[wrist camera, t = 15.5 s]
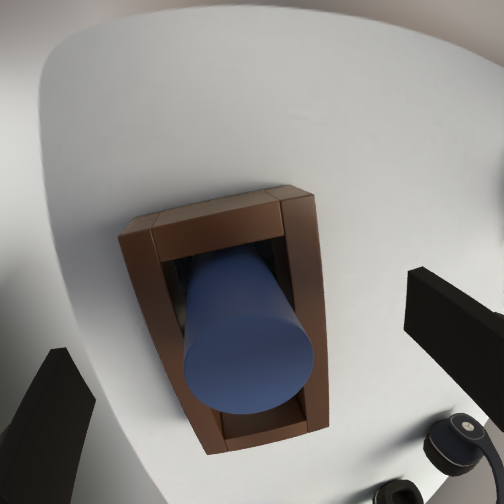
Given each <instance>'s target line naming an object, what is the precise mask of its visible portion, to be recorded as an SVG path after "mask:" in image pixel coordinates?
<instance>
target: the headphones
mask: <svg viewBox="0 0 504 504" xmlns="http://www.w3.org/2000/svg"><path fill="white" fill-rule="evenodd" d="M423 450H424V452H425V454H426V456H427V458H428V459H429V460H430V462H431V463H432V464H433V465H434V466H435V467H436V468H437V469H438V470H439V471H441V472H442V473H443V474H445V475H449V476H452V477H453V476H460V475H462V474H465V473H467V472H469V471H470V470H472V469H473V468H474V467H475V466H476V465H477V463H478V462H479V461H480V459H481V458H482V457H483V456H484V455H485V457H486V458H487V460H488V462H489V464H490V466H491V468H492V472H493V475H494V479H495V484H496V492H497V501H496V504H504V467H503V464H502V461H501V458H500V457H499V454H498V453H497V451H496V449H495V447H494V445H493V443H492V442H491V439H490V438H489V436H488V434H487V432H486V430H485V429H484V427H483V426H482V425H481V424H480V423H479V422H478V421H476V420H475V419H474V418H472V417H471V416H469V415H467V414H464V413H457V414H453V415H451V416H450V417H449V418H448V419H447V420H442V421H439V422H437V423H435V424H434V425H433V426H432V427H431V429H430V432H429V433H428V434H427V436H426V438H425V440H424V445H423ZM372 502H373V504H424V502H423V498H422V496H421V493H420V492H419V490H418V488H417V487H416V485H415V484H414V483H413V482H411V481H409V480H396V481H393V482H391V483H389V484H387V485H385V486H384V487H382V488H381V489H380V490H378V491H377V492H376V493H375V494H374V497H373V499H372Z"/></svg>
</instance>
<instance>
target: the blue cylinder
mask: <svg viewBox="0 0 504 504" xmlns="http://www.w3.org/2000/svg"><path fill="white" fill-rule="evenodd" d="M313 364H314V350H313V346H312V343H311V341H310V339H309V337H308V335H307V334H306V332H305V330H304V328H303V327H302V325H301V323H300V321H299V320H298V318H297V316H296V314H295V313H294V311H293V309H292V307H291V306H290V304H289V302H288V300H287V299H286V297H285V295H284V294H283V292H282V290H281V288H280V287H279V285H278V283H277V281H276V280H275V278H274V276H273V274H272V273H271V271H270V269H269V267H268V266H267V264H266V262H265V261H264V259H263V257H262V255H261V254H260V252H259V251H258V250H257V249H256V248H255V247H254V246H253V245H251V244H250V243H247V244H242V245H238V246H233V247H228V248H224V249H219V250H215V251H210V252H205V253H201V254H196V255H194V257H193V258H192V260H191V263H190V266H189V271H188V284H187V299H186V315H185V335H184V360H183V372H184V378H185V381H186V384H187V386H188V388H189V389H190V391H191V392H192V394H193V395H194V396H195V397H196V398H197V399H198V400H199V401H201V402H202V403H203V404H205V405H207V406H208V407H211V408H213V409H215V410H218V411H221V412H226V413H231V414H252V413H258V412H262V411H266V410H269V409H272V408H275V407H277V406H279V405H281V404H283V403H284V402H286V401H288V400H289V399H290V398H292V397H293V396H294V395H295V394H296V393H298V392H299V391H300V389H301V388H302V387H303V386H304V385H305V383H306V382H307V380H308V378H309V376H310V374H311V372H312V369H313Z"/></svg>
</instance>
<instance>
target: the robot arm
mask: <svg viewBox="0 0 504 504" xmlns="http://www.w3.org/2000/svg"><path fill="white" fill-rule="evenodd" d="M404 331H405V332H406V333H407V334H408V335H409V336H410V337H412V338H413V339H414V340H415V341H416V342H417V343H418V344H419V345H420V346H421V347H422V348H423V349H424V350H425V351H426V352H427V353H428V354H429V355H430V356H431V357H432V358H433V359H434V360H435V361H436V362H437V363H438V364H439V365H440V366H441V367H442V368H443V369H444V370H445V371H446V372H447V374H448V375H449V376H450V377H451V378H452V379H453V380H454V381H455V382H456V383H457V384H458V385H459V386H460V387H461V388H462V389H463V390H464V391H465V392H466V393H467V394H468V395H469V396H470V397H471V399H472V400H473V401H474V402H475V403H476V404H477V405H478V406H479V407H480V408H481V409H482V410H483V411H484V412H485V414H486V415H487V416H488V417H489V418H490V419H491V420H492V421H493V422H494V423H495V425H496V426H497V427H498V428H499V429H500V430H501V431H502V432H504V315H503V314H500V313H497V312H492V311H491V310H489V309H488V308H486V307H485V306H483V305H482V304H481V303H479V302H478V301H476V300H475V299H473V298H472V297H470V296H469V295H467V294H465V293H464V292H462V291H461V290H459V289H458V288H456V287H455V286H453V285H452V284H450V283H448V282H447V281H445V280H444V279H442V278H441V277H439V276H437V275H436V274H434V273H433V272H431V271H429V270H428V269H426V268H424V267H423V266H422V267H419V268H416V269H413V270H410V271H408V278H407V296H406V309H405V320H404ZM95 402H96V399H95V397H94V396H93V394H92V393H91V391H90V389H89V388H88V386H87V384H86V383H85V381H84V379H83V378H82V376H81V374H80V372H79V371H78V369H77V367H76V365H75V364H74V362H73V360H72V358H71V356H70V354H69V352H68V350H67V349H66V347H65V348H57V349H51V350H50V351H49V353H48V355H47V356H46V359H45V360H44V362H43V364H42V365H41V367H40V369H39V370H38V372H37V374H36V376H35V377H34V379H33V381H32V383H31V385H30V387H29V389H28V390H27V392H26V394H25V396H24V398H23V400H22V402H21V404H20V406H19V408H18V410H17V412H16V414H15V416H14V418H13V420H12V422H11V424H10V425H8V427H7V428H6V429H5V430H4V431H3V432H2V434H1V435H0V504H70V502H71V496H72V492H73V487H74V482H75V478H76V473H77V469H78V464H79V460H80V456H81V452H82V448H83V444H84V440H85V437H86V433H87V430H88V426H89V422H90V419H91V415H92V412H93V409H94V405H95Z"/></svg>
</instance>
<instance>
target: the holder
mask: <svg viewBox="0 0 504 504" xmlns="http://www.w3.org/2000/svg"><path fill="white" fill-rule="evenodd" d="M270 238H271V243H272V249H273V256H274V262H275V268H276V275H277V281H278V285H279V287H280V288H281V290H282V292H283V294H284V295H285V297H286V299H287V300H288V302H289V304H290V306H291V307H292V309H293V311H294V313H295V314H296V316H297V318H298V320H299V321H300V323H301V325H302V327H303V328H304V330H305V332H306V334H307V335H308V337H309V339H310V341H311V343H312V346H313V350H314V364H313V369H312V372H311V374H310V376H309V378H308V380H307V382H306V383H305V385H304V386H303V387H302V388H301V389H300V391H299V392H298V393H296V394H295V395H294V396H293V397H292V398H290V399H289V400H288V401H286V402H284V403H283V404H281V405H279V406H277V407H275V408H272V409H269V410H266V411H262V412H258V413H252V414H231V413H226V412H221V411H218V410H215V409H213V408H211V407H208V406H207V405H205V404H203V403H202V402H201V401H199V400H198V399H197V398H196V397H195V396H194V395H193V394H192V392H191V391H190V389H189V388H188V386H187V384H186V381H185V378H184V372H183V360H184V335H185V315H186V302H185V299H184V295H183V292H182V288H181V285H180V281H179V278H178V274H177V271H176V267H175V263H174V259H178V258H183V257H187V256H192V255H196V254H201V253H205V252H210V251H215V250H219V249H224V248H228V247H233V246H238V245H242V244H247V243H252V242H256V241H261V240H266V239H270ZM118 241H119V244H120V247H121V251H122V254H123V257H124V261H125V264H126V267H127V270H128V273H129V276H130V279H131V282H132V285H133V288H134V291H135V294H136V297H137V300H138V303H139V305H140V308H141V311H142V314H143V316H144V319H145V322H146V324H147V327H148V329H149V332H150V335H151V337H152V340H153V342H154V345H155V347H156V350H157V352H158V354H159V357H160V359H161V362H162V364H163V366H164V369H165V371H166V373H167V375H168V378H169V380H170V382H171V384H172V387H173V389H174V391H175V393H176V395H177V397H178V399H179V402H180V404H181V406H182V408H183V410H184V412H185V414H186V416H187V418H188V420H189V422H190V424H191V426H192V428H193V430H194V432H195V434H196V436H197V438H198V439H199V441H200V443H201V445H202V447H203V449H204V451H205V452H206V454H207V455H212V454H218V453H224V452H229V451H236V450H241V449H246V448H251V447H256V446H260V445H265V444H269V443H273V442H277V441H281V440H285V439H289V438H293V437H296V436H300V435H303V434H307V432H308V433H310V432H314V431H317V430H320V429H323V428H326V427H329V380H328V352H327V332H326V315H325V300H324V287H323V275H322V263H321V253H320V243H319V233H318V224H317V215H316V207H315V198H314V194H312V193H309V192H307V191H304V190H302V189H299V188H297V187H295V186H292V185H286V186H280V187H275V188H269V189H264V190H258V191H253V192H248V193H243V194H238V195H233V196H228V197H223V198H218V199H214V200H209V201H204V202H200V203H195V204H191V205H186V206H182V207H177V208H173V209H169V210H164V211H162V212H156V213H152V214H148V215H144V216H140V217H136V218H134V219H133V220H132V221H131V222H130V223H129V224H128V226H127V227H126V228H125V229H124V230H123V231H122V232H121V233H120V234H119V235H118Z"/></svg>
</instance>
